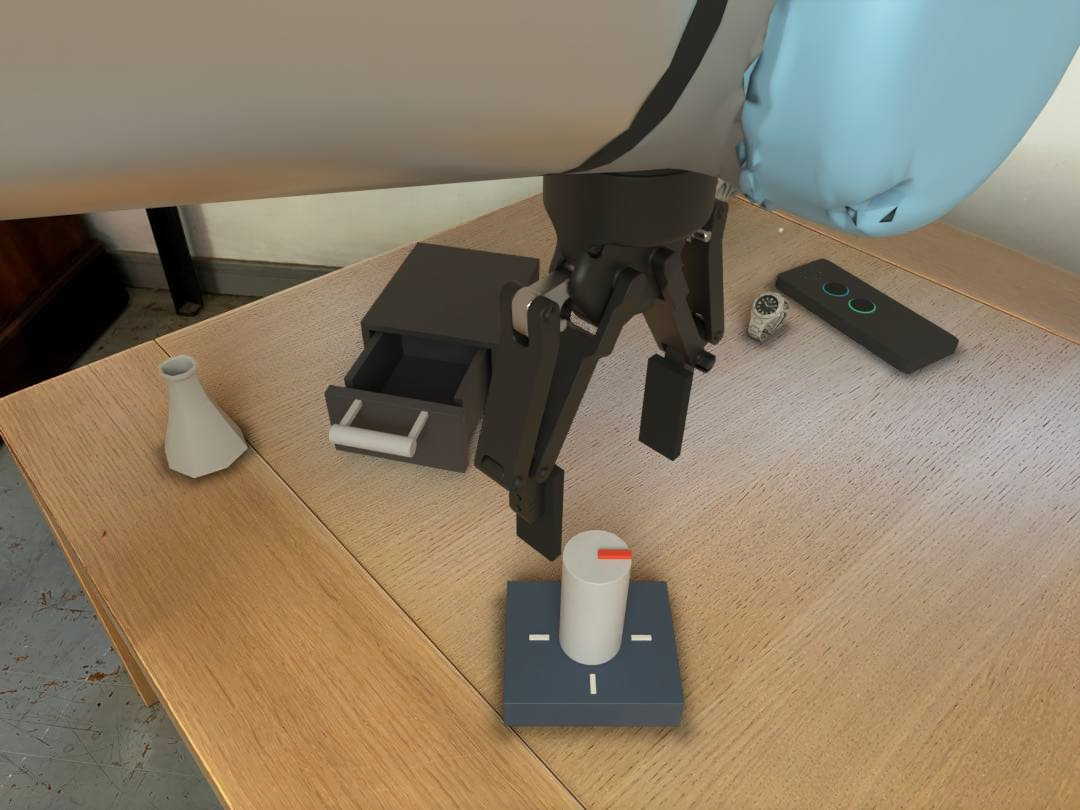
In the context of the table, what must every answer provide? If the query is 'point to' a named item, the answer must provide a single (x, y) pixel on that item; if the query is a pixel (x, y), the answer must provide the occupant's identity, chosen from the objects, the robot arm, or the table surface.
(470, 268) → the drawer cabinet
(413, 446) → the open drawer with handle
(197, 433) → the flask
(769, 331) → the wristwatch
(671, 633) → the timer panel
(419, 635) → the table surface
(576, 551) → the timer knob
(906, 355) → the smart home device
